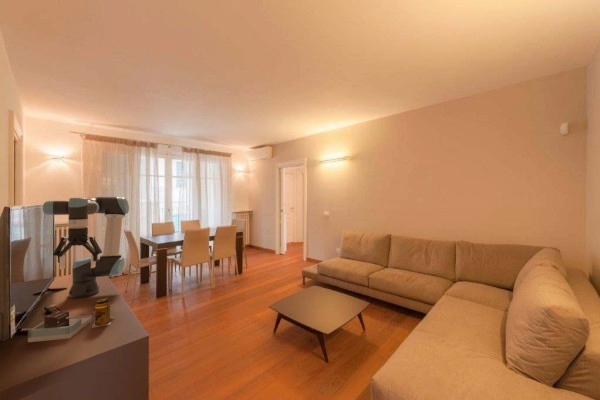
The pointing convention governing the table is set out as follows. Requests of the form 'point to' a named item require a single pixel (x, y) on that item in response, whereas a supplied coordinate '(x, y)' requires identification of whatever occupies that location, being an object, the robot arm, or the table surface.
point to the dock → (58, 330)
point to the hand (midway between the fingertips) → (78, 268)
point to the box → (57, 319)
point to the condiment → (102, 313)
